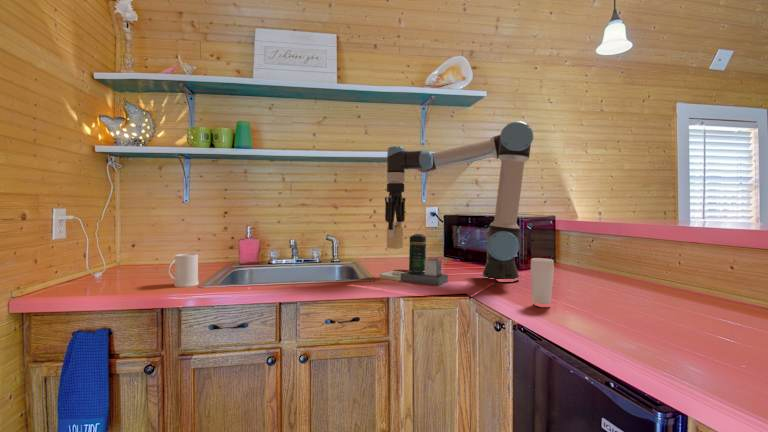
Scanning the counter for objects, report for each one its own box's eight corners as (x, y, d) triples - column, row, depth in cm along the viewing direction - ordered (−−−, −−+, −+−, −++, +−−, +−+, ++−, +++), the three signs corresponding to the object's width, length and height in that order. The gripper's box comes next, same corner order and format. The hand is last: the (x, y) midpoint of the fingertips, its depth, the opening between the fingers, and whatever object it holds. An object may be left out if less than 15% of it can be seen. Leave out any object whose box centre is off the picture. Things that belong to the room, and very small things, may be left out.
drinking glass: (546, 303, 121) (547, 257, 121) (557, 309, 114) (558, 260, 114) (526, 303, 121) (527, 257, 120) (535, 309, 114) (536, 260, 114)
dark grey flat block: (447, 284, 150) (447, 274, 150) (438, 288, 143) (438, 278, 143) (411, 279, 159) (411, 270, 159) (400, 283, 152) (400, 273, 152)
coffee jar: (425, 274, 172) (425, 234, 172) (408, 273, 173) (408, 234, 173) (426, 271, 181) (426, 233, 181) (410, 270, 183) (410, 233, 182)
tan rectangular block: (402, 247, 160) (403, 225, 160) (396, 248, 156) (397, 225, 156) (392, 247, 163) (393, 224, 163) (386, 248, 159) (387, 225, 158)
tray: (410, 278, 162) (410, 272, 162) (397, 282, 153) (397, 276, 153) (392, 276, 167) (392, 270, 167) (379, 280, 158) (379, 274, 157)
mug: (173, 289, 137) (173, 257, 137) (161, 287, 142) (160, 255, 141) (203, 284, 147) (203, 254, 147) (190, 281, 152) (190, 252, 151)
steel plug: (441, 282, 150) (441, 258, 149) (436, 284, 145) (436, 259, 145) (430, 280, 152) (430, 257, 152) (424, 282, 148) (424, 258, 148)
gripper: (398, 184, 168) (398, 235, 169) (376, 182, 153) (376, 238, 154) (413, 184, 164) (412, 236, 165) (392, 181, 149) (391, 239, 150)
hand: (394, 237), depth 159 cm, fingers closed on tan rectangular block, 5 cm apart
